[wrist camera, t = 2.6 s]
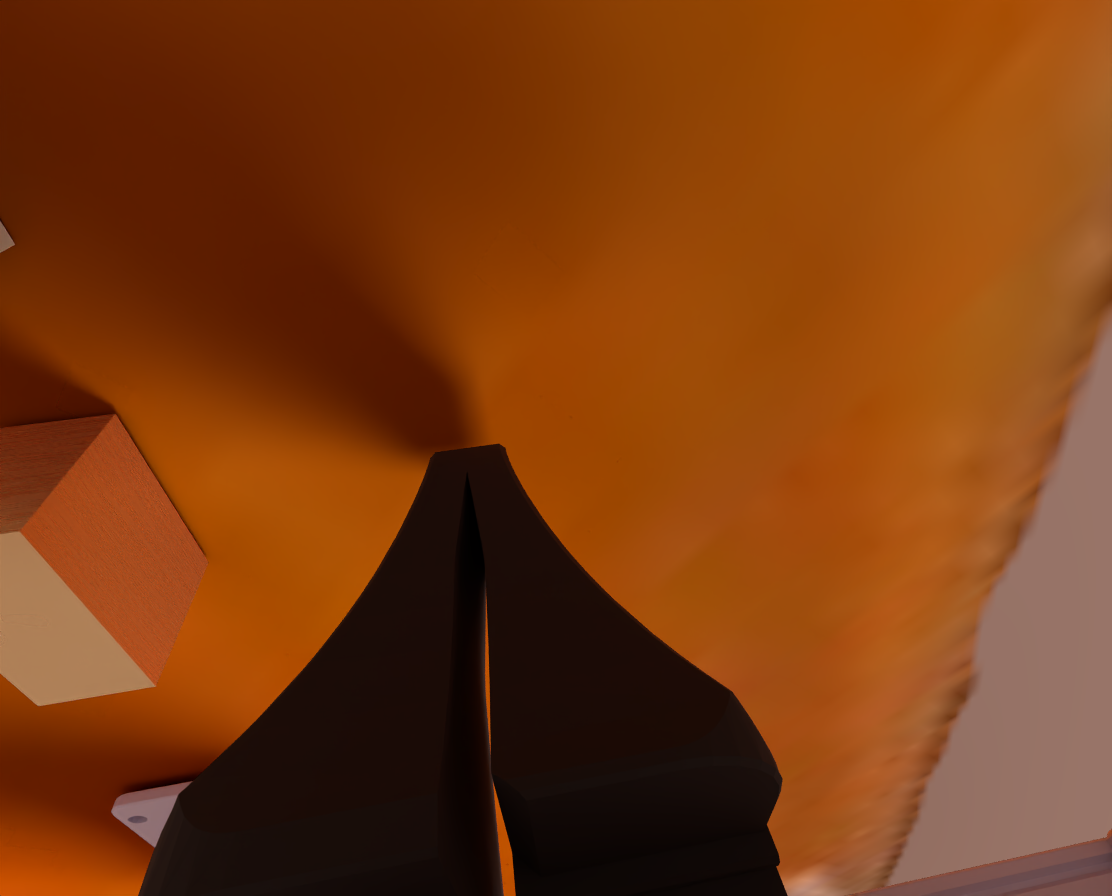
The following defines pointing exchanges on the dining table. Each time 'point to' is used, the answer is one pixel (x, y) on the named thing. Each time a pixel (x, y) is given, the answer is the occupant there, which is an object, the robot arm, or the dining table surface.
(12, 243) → the pad
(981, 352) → the dining table surface
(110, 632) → the block
